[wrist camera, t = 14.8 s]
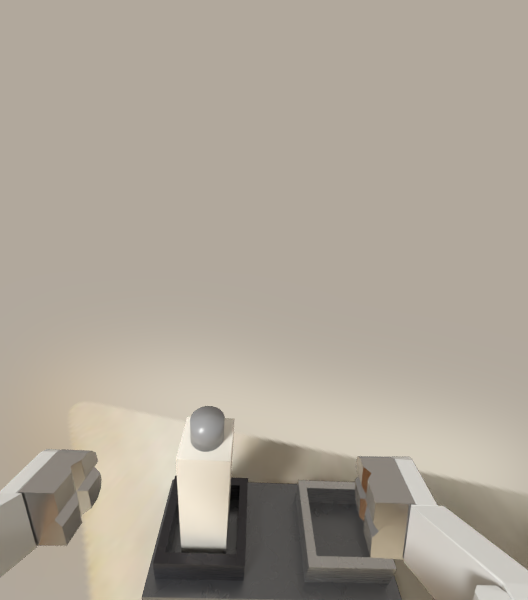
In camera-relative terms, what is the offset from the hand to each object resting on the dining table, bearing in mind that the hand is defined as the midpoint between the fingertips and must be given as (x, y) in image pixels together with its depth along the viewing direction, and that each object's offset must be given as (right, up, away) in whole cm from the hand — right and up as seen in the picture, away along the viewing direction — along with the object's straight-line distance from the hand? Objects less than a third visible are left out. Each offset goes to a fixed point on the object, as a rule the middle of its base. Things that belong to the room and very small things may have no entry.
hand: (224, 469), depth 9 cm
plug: (-4, -17, +20) cm, 27 cm away
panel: (+2, -19, +21) cm, 28 cm away
